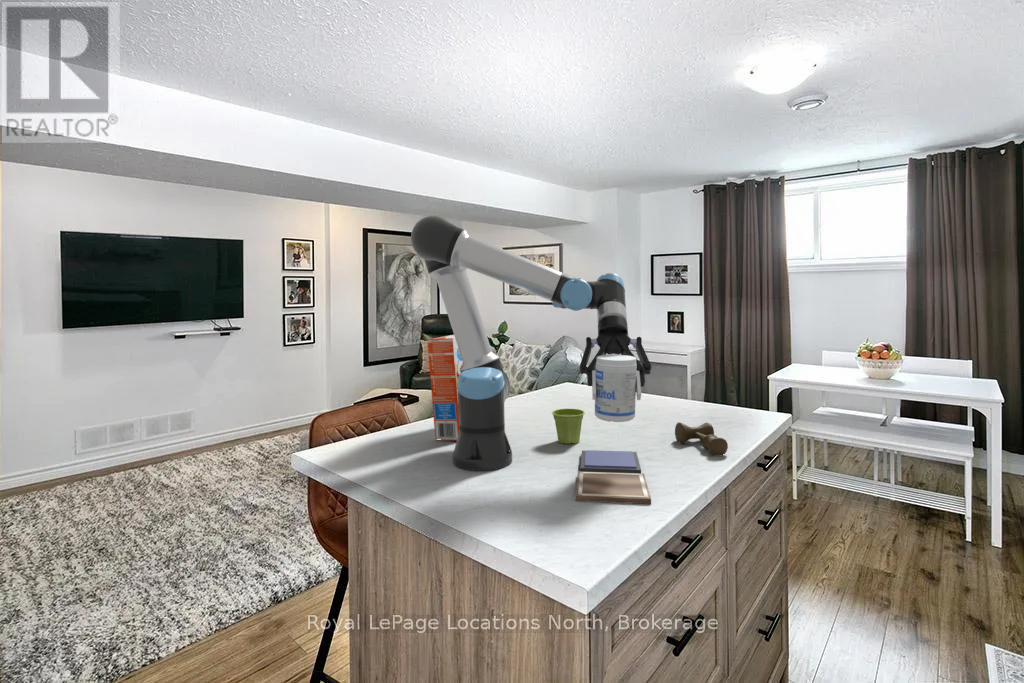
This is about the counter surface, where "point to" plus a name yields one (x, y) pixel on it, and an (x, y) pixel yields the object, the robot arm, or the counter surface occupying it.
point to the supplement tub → (615, 388)
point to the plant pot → (568, 424)
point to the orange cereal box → (445, 385)
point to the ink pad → (610, 461)
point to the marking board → (612, 487)
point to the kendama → (702, 437)
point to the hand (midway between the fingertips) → (616, 396)
